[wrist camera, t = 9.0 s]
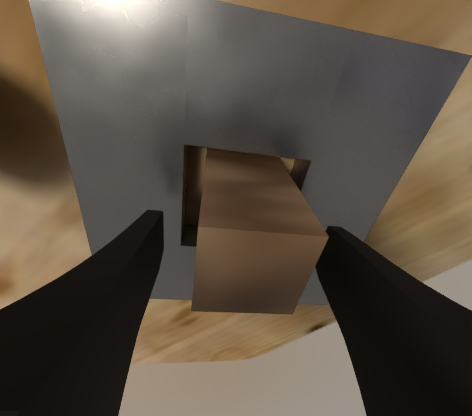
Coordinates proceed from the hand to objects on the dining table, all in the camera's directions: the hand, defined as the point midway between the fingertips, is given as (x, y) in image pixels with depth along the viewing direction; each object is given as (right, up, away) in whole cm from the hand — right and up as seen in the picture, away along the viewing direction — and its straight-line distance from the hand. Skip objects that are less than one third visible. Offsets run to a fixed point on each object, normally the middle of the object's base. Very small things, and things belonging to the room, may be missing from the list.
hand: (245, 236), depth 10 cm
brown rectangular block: (0, +3, +4) cm, 5 cm away
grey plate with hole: (0, +2, +4) cm, 4 cm away
